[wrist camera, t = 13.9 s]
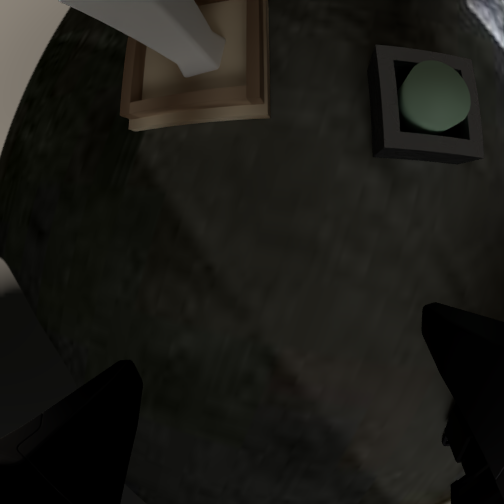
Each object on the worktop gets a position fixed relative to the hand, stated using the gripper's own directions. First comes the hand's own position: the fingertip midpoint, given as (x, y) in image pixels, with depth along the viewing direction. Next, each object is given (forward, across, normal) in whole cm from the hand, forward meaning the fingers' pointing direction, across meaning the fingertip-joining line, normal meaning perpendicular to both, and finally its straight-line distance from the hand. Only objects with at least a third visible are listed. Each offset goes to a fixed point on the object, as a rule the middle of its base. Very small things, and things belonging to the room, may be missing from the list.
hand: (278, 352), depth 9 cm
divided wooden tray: (+16, +1, -18) cm, 25 cm away
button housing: (+12, -11, -6) cm, 17 cm away
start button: (+11, -11, -6) cm, 17 cm away
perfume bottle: (+15, +2, -13) cm, 20 cm away
